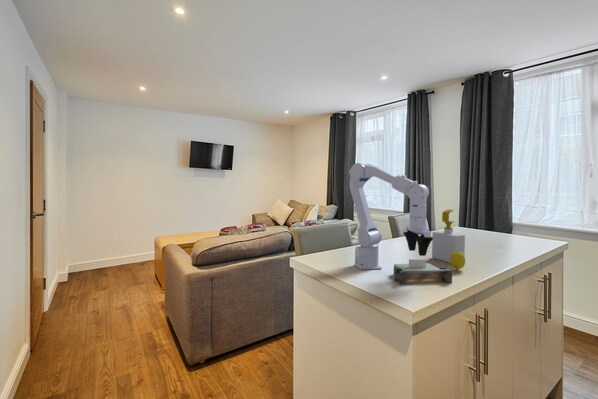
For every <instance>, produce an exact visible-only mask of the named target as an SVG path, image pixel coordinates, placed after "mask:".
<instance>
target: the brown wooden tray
mask: <svg viewBox="0 0 598 399" xmlns="http://www.w3.org/2000/svg"><path fill="white" fill-rule="evenodd" d="M438 268H439V269H447V267H446V266H439V267H438ZM393 275H394V281H395V282H396V283H397V284H399V285H400V286H402V285H408V283H415V282H416V283H419V282H423V283H424V282H442V283H444V284H453V270H452V269H447V270H445V273H423V274H406V271H402V269H401V268H395V267H394V266H393Z"/></svg>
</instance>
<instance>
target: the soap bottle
mask: <svg viewBox="0 0 598 399" xmlns="http://www.w3.org/2000/svg"><path fill="white" fill-rule="evenodd" d="M452 212H454V209H446V210H444V211H442V213H441V216H442V217H441V220H442V223H444V224H445V226H444V227H443V230H437V231H432V235H431V237H433V240H432V241H431V243H432V244H431V245H432V246H431V259H435V260H438V261H442V262H446V263H448V264H450V256H451V254H452V253H453V252H456V251H459V252H461V253H462V254H463V255H464V256H466V255H465V252H466V251H465V248H466V244H465V243H466V235H465V234H462V233H457V232H456V233H455V232H453V231H454V228H453V227H452V225H453V223H455V222H454V220H453V221H452V220H450V213H452Z"/></svg>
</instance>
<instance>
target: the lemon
mask: <svg viewBox="0 0 598 399" xmlns="http://www.w3.org/2000/svg"><path fill="white" fill-rule="evenodd" d="M449 264H450V266H451V267H452V268H453V269H455V270H456V271H459V270H461V269H463V268H464V267H465V265H466V257H465V255H463V254H462V253H461V252H459V251H456V252H453V253H452V254H451V256H450V263H449Z"/></svg>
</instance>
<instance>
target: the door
mask: <svg viewBox="0 0 598 399" xmlns="http://www.w3.org/2000/svg"><path fill="white" fill-rule="evenodd" d="M394 267H395V268H401V269H402V271H406V274H423V273H445V270H448V269H447V268H446V269H439V267H437V266H435V265H433V264H431V263H429V262H427V259H426V258H408V263H394V264H393V268H394Z"/></svg>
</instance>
